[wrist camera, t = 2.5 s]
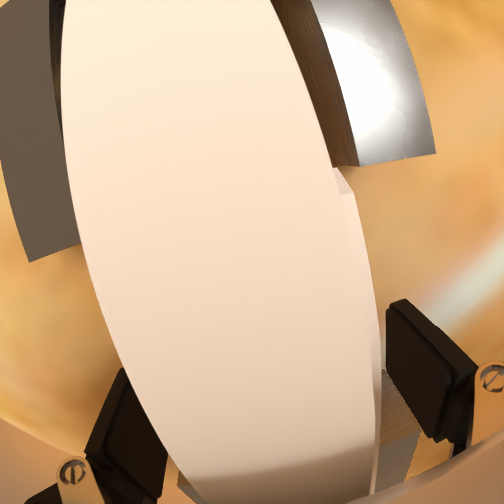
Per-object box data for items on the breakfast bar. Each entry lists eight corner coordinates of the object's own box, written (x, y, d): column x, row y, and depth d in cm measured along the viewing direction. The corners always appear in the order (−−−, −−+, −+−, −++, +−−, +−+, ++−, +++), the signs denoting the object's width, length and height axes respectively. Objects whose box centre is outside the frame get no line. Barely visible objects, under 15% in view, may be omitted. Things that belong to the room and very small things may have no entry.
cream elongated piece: (269, 467, 18) (279, 607, 5) (164, 117, 15) (36, -23, 3) (340, 450, 18) (387, 582, 5) (256, 91, 15) (265, -98, 3)
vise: (304, -30, 8) (333, -92, 4) (377, 447, 18) (397, 494, 13) (58, 42, 9) (-4, 10, 4) (232, 483, 18) (233, 533, 13)
